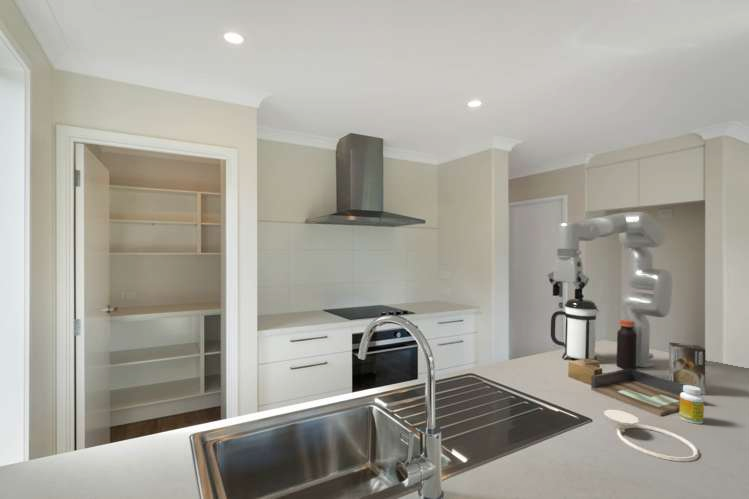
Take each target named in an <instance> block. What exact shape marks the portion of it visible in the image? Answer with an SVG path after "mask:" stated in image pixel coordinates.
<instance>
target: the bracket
mask: <svg viewBox="0 0 749 499" xmlns="http://www.w3.org/2000/svg"><path fill="white" fill-rule="evenodd" d="M593 359H594V358H593ZM593 359H590V358H588V359H582V360H580V359H575V360H571V361H568V369H567V370H568V375H567V376H568V378H570V379H572V380H576V381H578V382H580V383H583V384H586V385H590V386H591V378H592V376H593V375H598V374H603V368H602V367H601V361H600V360H593Z"/></svg>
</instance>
